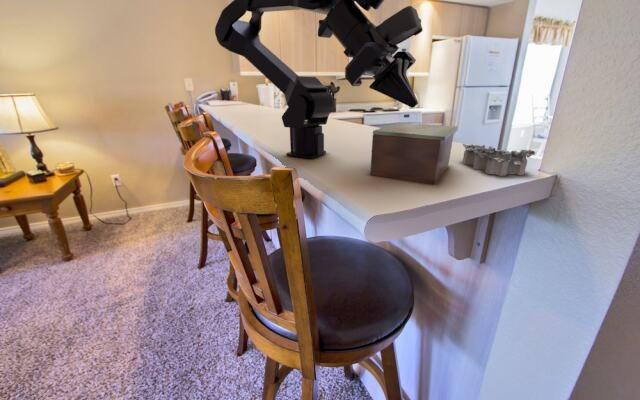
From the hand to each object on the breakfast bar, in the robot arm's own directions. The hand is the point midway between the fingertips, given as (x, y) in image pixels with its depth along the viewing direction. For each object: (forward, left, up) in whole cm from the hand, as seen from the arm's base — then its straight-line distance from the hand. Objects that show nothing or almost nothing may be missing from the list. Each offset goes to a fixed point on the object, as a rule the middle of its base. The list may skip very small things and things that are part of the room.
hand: (415, 105), depth 48 cm
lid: (+1, 0, -4) cm, 4 cm away
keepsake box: (0, 0, -11) cm, 11 cm away
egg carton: (+12, +9, -11) cm, 19 cm away
